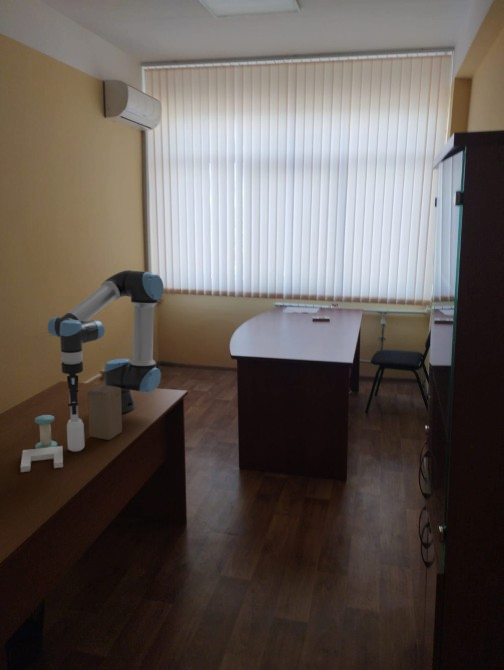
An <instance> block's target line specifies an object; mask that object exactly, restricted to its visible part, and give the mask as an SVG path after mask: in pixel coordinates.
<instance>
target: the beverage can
mask: <svg viewBox="0 0 504 670" xmlns="http://www.w3.org/2000/svg"><path fill="white" fill-rule="evenodd" d="M66 436H67V437H66V438H67V439H66V440H67V449H68V450H69V451H70V452H73V453H77V452H81V451H82V450H83V449H85V427H84V422H83V419H82V418H79V417H78V422H71V418H70V419H68V421H67V424H66Z"/></svg>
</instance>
